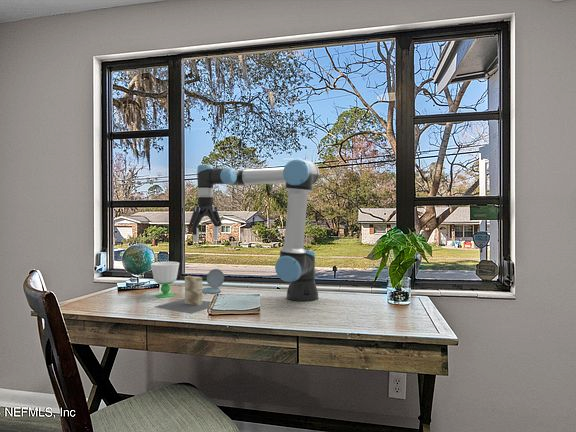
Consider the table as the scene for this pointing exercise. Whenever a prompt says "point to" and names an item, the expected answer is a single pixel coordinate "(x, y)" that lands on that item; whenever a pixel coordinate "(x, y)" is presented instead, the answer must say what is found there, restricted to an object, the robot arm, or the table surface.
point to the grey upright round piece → (214, 281)
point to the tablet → (193, 290)
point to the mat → (184, 306)
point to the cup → (165, 276)
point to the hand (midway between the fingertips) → (206, 240)
